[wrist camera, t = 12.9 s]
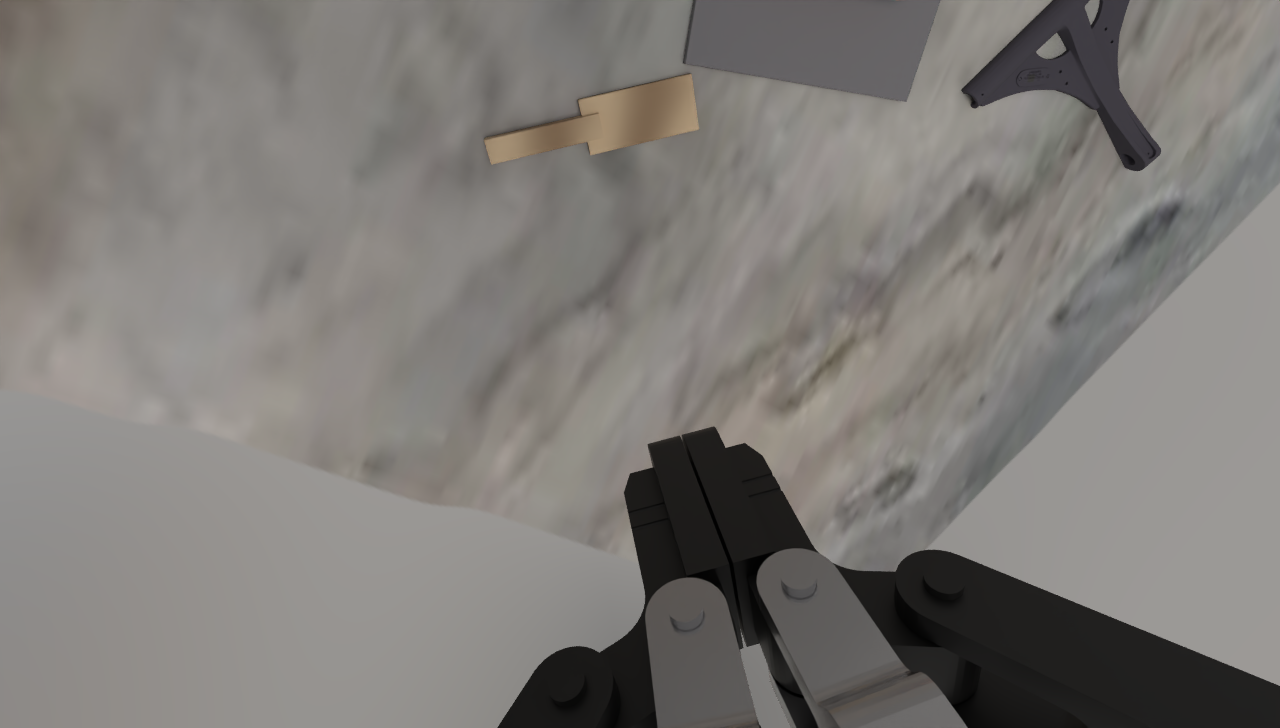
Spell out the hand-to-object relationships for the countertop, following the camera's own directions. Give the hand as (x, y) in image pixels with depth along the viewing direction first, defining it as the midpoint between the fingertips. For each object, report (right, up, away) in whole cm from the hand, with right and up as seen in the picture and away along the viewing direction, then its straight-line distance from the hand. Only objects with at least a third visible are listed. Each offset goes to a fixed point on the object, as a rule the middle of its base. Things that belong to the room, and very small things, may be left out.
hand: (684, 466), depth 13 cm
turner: (-4, +17, +23) cm, 29 cm away
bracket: (+30, +22, +28) cm, 47 cm away
